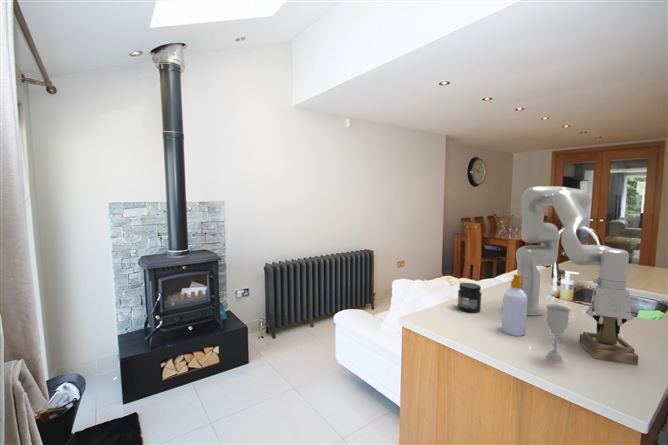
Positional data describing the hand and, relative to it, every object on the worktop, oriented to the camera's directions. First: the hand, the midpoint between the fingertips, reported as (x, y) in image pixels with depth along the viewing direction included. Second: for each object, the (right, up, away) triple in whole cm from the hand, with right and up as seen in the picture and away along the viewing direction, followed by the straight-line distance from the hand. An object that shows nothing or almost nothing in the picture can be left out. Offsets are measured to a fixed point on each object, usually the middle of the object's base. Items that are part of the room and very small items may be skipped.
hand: (607, 334), depth 118 cm
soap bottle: (-24, -5, +17) cm, 30 cm away
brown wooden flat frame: (0, -7, 0) cm, 7 cm away
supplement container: (-32, -3, +43) cm, 54 cm away
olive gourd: (0, -3, 0) cm, 3 cm away
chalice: (-22, -7, -5) cm, 24 cm away
